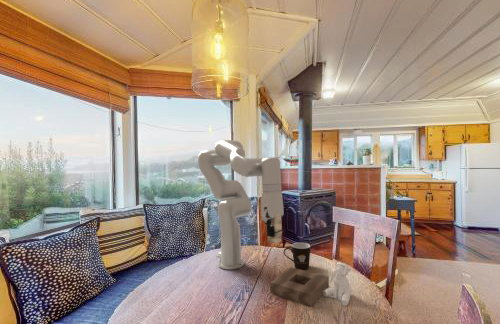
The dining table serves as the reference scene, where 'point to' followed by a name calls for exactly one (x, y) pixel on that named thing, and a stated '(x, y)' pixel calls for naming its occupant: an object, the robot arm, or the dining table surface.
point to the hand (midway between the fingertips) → (274, 234)
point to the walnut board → (300, 286)
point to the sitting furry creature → (340, 285)
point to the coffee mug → (300, 255)
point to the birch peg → (276, 229)
